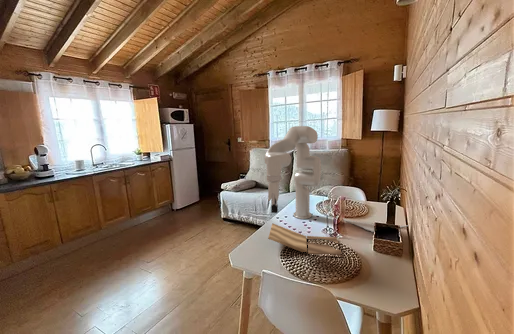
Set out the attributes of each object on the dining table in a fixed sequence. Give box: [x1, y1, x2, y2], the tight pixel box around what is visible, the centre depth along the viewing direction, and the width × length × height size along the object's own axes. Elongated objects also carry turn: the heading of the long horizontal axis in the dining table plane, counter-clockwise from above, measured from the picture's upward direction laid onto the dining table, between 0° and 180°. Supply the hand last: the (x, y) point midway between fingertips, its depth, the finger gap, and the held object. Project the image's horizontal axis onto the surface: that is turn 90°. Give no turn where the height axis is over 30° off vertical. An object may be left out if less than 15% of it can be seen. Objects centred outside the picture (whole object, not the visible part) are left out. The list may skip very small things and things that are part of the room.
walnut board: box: [306, 235, 342, 255], centre depth 124 cm, size 18×16×2 cm
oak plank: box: [267, 223, 308, 253], centre depth 127 cm, size 16×20×2 cm
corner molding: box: [343, 218, 409, 233], centre depth 156 cm, size 30×2×30 cm
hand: (274, 212), depth 125 cm, fingers closed
